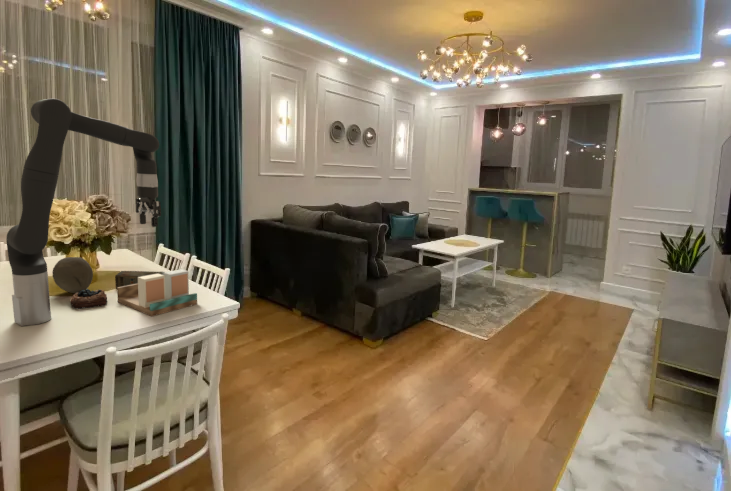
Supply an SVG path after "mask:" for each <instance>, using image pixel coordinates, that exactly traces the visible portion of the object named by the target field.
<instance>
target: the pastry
mask: <svg viewBox="0 0 731 491" xmlns="http://www.w3.org/2000/svg"><path fill="white" fill-rule="evenodd" d="M107 301H108V296H107V293H106V292H105V290H103V289H97V290H96V289H95V290H90V289H89V288H87V289H86V290H82V291H81V292H78V293H73V295H72V296H71V298H70V301H69V303H70V306H71V307H72V308H74V309H75V310H80V309H90V308H98V307H103V306H104V307H105V306H106V304H107Z"/></svg>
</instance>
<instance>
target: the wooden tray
mask: <svg viewBox="0 0 731 491" xmlns="http://www.w3.org/2000/svg"><path fill="white" fill-rule="evenodd" d="M116 291H117V293H116V294H117V302H118V303H120V304H122V305H125V306H127V307H129V308H132V309H134V310H136V311H138V312H141V313H143V314H145V315H148V316H150V317H154V316H159V315H162V314H165V313H169V312H173V311H176V310H181V309H184V308H188V307H191V305H192V306H195V305H198V293H196V292H193V293H189V295H185V296H181V297H177V298H173V299H169V300H165V301H161V302H157V303H153V304H150V307H146V308H145V307H142V306H140V305H139V298H138V283H137V284H132V285H127V286H122V287H117V288H116Z"/></svg>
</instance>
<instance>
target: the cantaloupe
mask: <svg viewBox="0 0 731 491" xmlns="http://www.w3.org/2000/svg"><path fill="white" fill-rule="evenodd" d="M52 278H53V281H54V283H55V285H57V287H58V288H60V289H61V290H63V291H65V292H68V293H72V294H75V293H78V292H81V291H82V290H86V289H89V287H90V286H91V283H92V281H93V278H94V271H93V268H92V267H91V265H90V263H89V262H88V261H87V260H86V259H85V258H83V257H79V256H73V257H72V256H67V257H63V258H61V259H59V260H58V261H57V262H56V263H55V265H54V267H53V268H52Z"/></svg>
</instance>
